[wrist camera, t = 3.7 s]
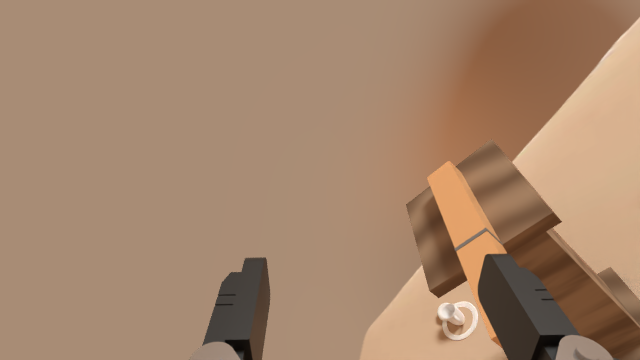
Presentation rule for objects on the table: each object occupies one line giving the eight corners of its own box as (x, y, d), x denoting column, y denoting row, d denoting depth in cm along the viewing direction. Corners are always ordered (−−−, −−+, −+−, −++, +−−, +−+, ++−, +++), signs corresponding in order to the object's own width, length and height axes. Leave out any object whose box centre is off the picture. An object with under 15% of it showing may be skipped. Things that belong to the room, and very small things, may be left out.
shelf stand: (701, 370, 44) (552, 212, 34) (586, 415, 50) (429, 290, 40) (615, 272, 58) (491, 138, 48) (532, 316, 64) (406, 204, 54)
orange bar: (553, 333, 28) (533, 315, 27) (510, 355, 29) (489, 339, 28) (462, 172, 48) (449, 159, 48) (439, 189, 50) (426, 177, 49)
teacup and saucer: (437, 314, 80) (425, 304, 79) (467, 292, 78) (455, 282, 76) (452, 349, 72) (438, 339, 71) (486, 326, 70) (472, 315, 68)
